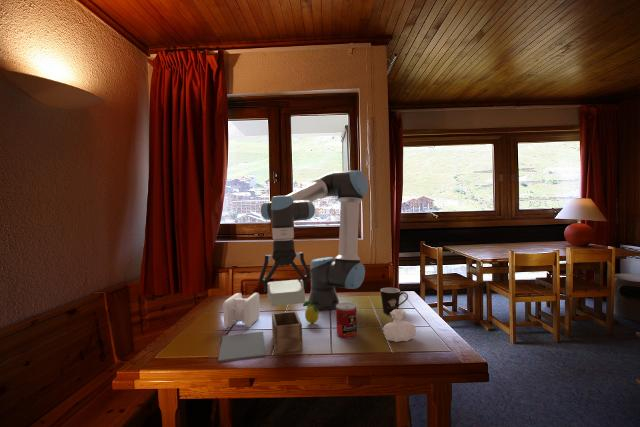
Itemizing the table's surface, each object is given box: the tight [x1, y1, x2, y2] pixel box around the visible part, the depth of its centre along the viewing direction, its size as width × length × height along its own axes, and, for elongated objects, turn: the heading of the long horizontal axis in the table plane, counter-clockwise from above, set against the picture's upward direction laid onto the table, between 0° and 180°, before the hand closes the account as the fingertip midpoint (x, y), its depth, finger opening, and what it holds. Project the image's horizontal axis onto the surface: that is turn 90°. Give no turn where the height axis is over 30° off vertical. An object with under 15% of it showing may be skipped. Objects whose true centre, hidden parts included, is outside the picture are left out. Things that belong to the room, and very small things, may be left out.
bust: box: [382, 308, 417, 343], centre depth 121 cm, size 12×8×11 cm
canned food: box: [335, 302, 358, 339], centre depth 125 cm, size 8×8×11 cm
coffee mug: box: [380, 287, 409, 316], centre depth 148 cm, size 12×9×10 cm
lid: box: [268, 279, 306, 307], centre depth 118 cm, size 11×16×4 cm
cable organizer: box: [222, 292, 261, 328], centre depth 140 cm, size 15×11×12 cm
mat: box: [217, 331, 266, 363], centre depth 118 cm, size 15×20×1 cm
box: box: [271, 310, 304, 354], centre depth 119 cm, size 9×14×9 cm, turn 12°
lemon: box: [302, 300, 319, 325], centre depth 137 cm, size 7×6×10 cm
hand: (285, 300), depth 119 cm, fingers closed on lid, 11 cm apart
